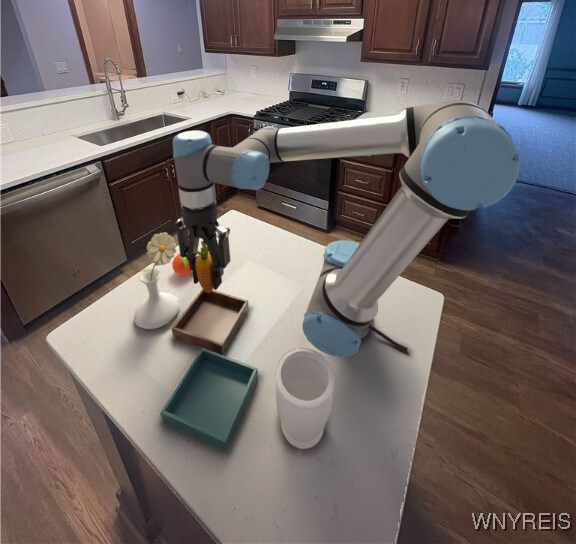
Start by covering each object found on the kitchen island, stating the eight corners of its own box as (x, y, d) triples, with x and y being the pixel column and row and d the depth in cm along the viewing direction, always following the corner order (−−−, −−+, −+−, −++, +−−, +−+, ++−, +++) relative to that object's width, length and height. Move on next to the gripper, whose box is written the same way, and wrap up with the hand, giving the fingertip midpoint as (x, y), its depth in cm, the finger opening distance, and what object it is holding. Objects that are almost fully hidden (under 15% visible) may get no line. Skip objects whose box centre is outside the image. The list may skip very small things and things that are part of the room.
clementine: (199, 277, 98) (197, 259, 95) (177, 285, 95) (173, 267, 92) (193, 262, 104) (191, 244, 101) (171, 269, 101) (168, 251, 98)
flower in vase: (142, 341, 78) (123, 262, 68) (130, 312, 86) (111, 237, 76) (192, 314, 85) (181, 238, 75) (176, 289, 93) (164, 218, 84)
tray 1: (248, 309, 87) (248, 300, 85) (222, 356, 74) (221, 346, 73) (204, 296, 91) (203, 287, 90) (173, 337, 79) (171, 328, 77)
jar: (265, 422, 62) (263, 373, 56) (300, 384, 69) (302, 336, 63) (304, 472, 55) (307, 422, 49) (339, 424, 62) (346, 375, 56)
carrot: (214, 302, 76) (208, 252, 70) (195, 298, 77) (188, 249, 71) (222, 287, 80) (217, 239, 74) (204, 283, 81) (198, 236, 75)
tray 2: (258, 377, 70) (257, 367, 68) (226, 452, 57) (225, 442, 56) (203, 357, 74) (201, 347, 73) (162, 423, 62) (160, 412, 60)
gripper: (243, 200, 69) (247, 281, 78) (175, 187, 74) (186, 264, 83) (226, 218, 62) (232, 304, 71) (153, 202, 68) (167, 284, 77)
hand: (207, 282), depth 77 cm, fingers closed on carrot, 5 cm apart
